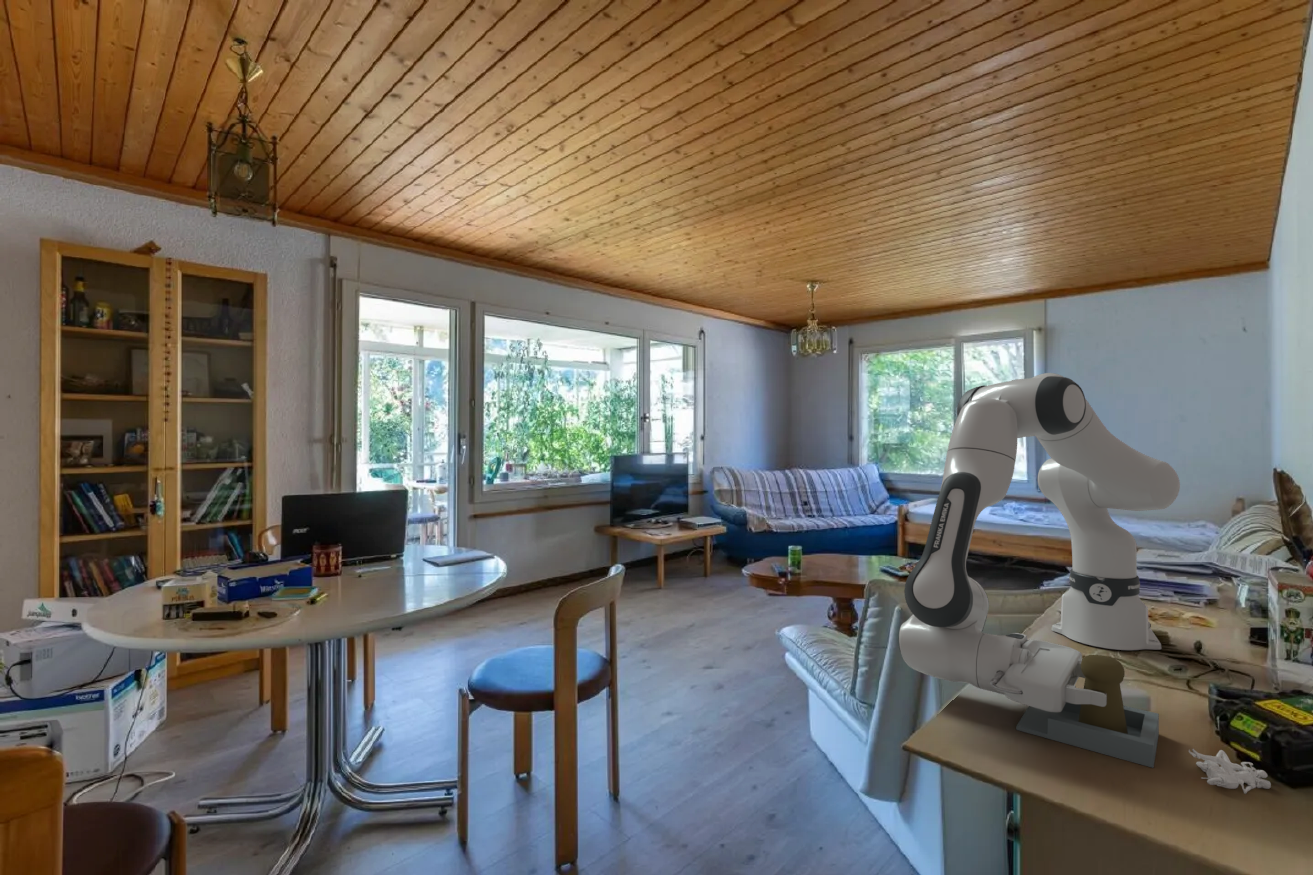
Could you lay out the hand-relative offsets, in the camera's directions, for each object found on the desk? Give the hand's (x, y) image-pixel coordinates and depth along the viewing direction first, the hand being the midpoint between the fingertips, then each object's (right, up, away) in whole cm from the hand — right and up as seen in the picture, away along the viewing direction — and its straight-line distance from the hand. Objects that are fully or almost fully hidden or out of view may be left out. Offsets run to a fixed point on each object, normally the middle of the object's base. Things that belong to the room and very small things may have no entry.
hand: (1110, 688), depth 89 cm
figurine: (+8, -8, -11) cm, 15 cm away
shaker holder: (-2, -7, +2) cm, 8 cm away
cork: (-1, -7, +1) cm, 7 cm away
